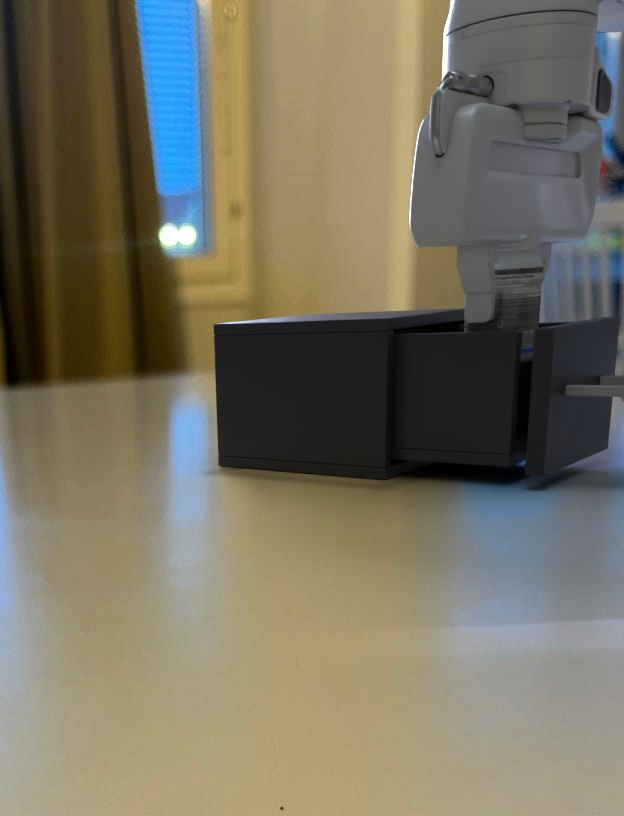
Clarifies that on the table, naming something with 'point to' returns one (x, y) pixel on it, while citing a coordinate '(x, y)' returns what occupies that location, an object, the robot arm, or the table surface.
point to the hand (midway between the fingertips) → (502, 319)
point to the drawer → (504, 394)
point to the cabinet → (313, 391)
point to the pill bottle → (517, 291)
